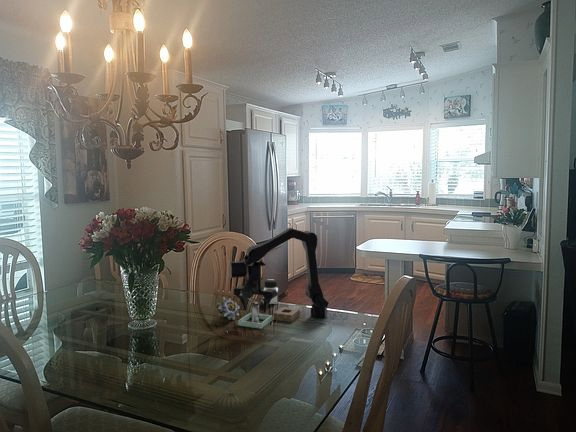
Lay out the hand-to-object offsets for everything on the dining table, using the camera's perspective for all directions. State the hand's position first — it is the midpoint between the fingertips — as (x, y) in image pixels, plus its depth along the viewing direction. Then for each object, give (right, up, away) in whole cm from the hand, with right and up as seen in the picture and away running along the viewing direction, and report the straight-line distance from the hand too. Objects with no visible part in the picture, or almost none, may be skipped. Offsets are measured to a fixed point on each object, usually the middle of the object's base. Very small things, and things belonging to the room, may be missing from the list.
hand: (255, 311), depth 192 cm
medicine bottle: (+6, -3, +31) cm, 31 cm away
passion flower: (-13, -5, +10) cm, 17 cm away
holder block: (+14, -5, +7) cm, 16 cm away
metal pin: (0, -5, +1) cm, 5 cm away
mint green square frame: (0, -6, +1) cm, 6 cm away
